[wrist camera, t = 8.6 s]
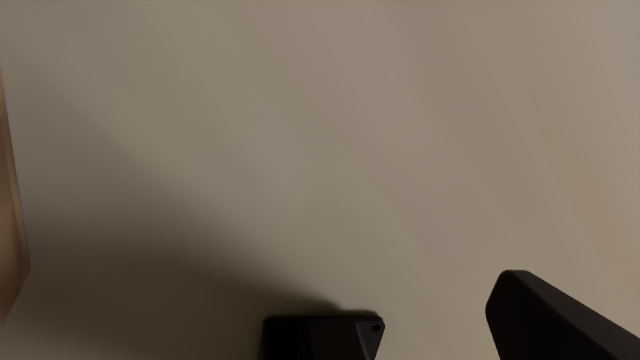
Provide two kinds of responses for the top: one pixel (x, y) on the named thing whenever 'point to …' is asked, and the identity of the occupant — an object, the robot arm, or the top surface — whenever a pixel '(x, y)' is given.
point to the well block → (10, 222)
